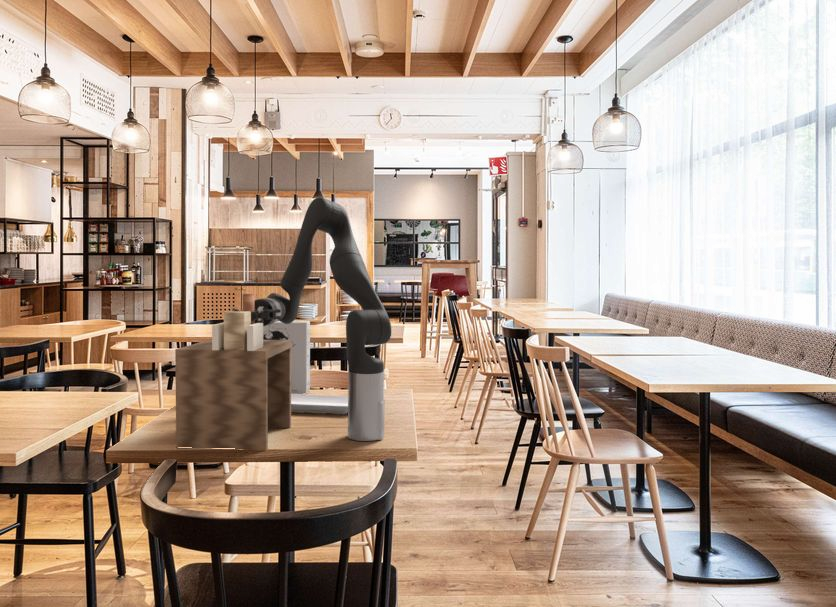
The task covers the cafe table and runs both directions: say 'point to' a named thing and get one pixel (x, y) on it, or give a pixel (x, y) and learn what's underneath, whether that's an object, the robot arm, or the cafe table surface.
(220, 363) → the open wooden cabinet
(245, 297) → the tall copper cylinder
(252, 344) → the upright cream panels
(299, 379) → the cereal box
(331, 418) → the cafe table surface
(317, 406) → the tray
